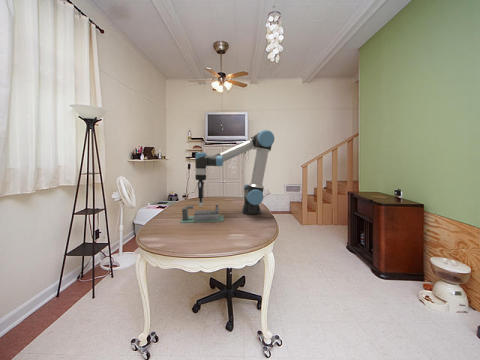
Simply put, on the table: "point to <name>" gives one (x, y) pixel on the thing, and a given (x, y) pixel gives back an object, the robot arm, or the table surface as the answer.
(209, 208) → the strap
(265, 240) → the table surface
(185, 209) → the clip
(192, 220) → the board
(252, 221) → the table surface
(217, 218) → the heatsink
